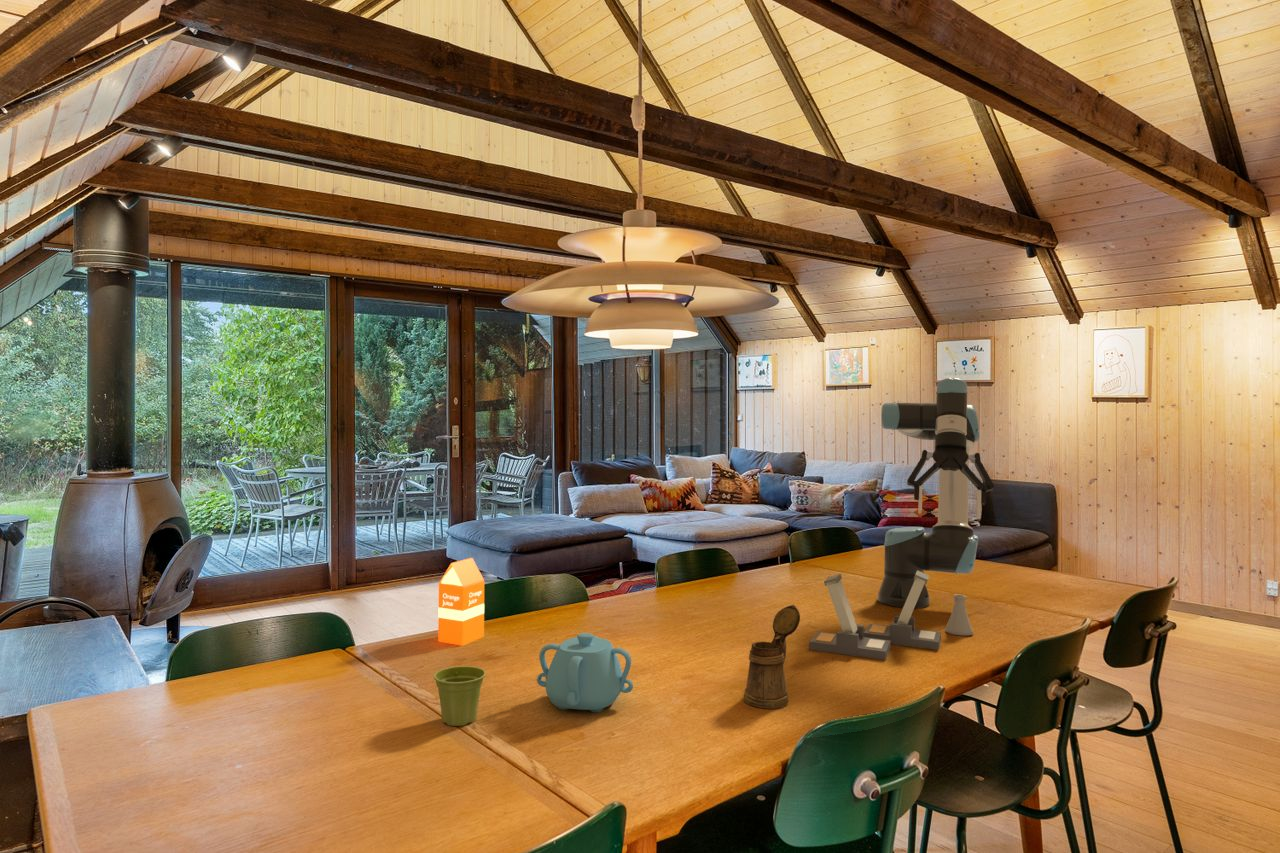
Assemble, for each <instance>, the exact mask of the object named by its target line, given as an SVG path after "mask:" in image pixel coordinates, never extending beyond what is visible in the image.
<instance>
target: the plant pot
mask: <svg viewBox="0 0 1280 853" xmlns="http://www.w3.org/2000/svg"><path fill="white" fill-rule="evenodd" d="M486 673H487V672H486V670H485V669H483V668H480V667H478V666H471V665H470V666H469V665H464V666H463V665H460V666H459V665H458V666H457V665H456V666H451V667H446V668H442V669H440V670H438V671H435V673H434V674H433V680H434V681H435V683H436V687H437V690H438V695H439V702H440V710H441V711H440V712H441V718H442V719H441V720H442V723H445V724H446V725H448V726H451V727H455V726H456V727H457V726H459V727H462V726H466V725H467V724H469V723H475V721H476V719H477V715H478V710H479V709H478V708H479V700H480V696H481V695H480V694H481V688H482V685H483V682H484V681H483V680H484V678H485V677H486V675H487V674H486Z"/></svg>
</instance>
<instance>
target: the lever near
mask: <svg viewBox="0 0 1280 853" xmlns="http://www.w3.org/2000/svg"><path fill="white" fill-rule="evenodd" d="M842 579H843V577H842V574H841V573H838V574H834V575H829V576H828V577H826V578H825V580H824V581H823V583H824V586H825V587H826V588H827V591H828V593H829V596H830V599H831V601H832V605H833V607H834V611H835V614H836V617H837V619H838V622H839V626H840V628H841V632H848V633H856V631H857V625H856V624H857V623H856V619H855V617H854V614H853V611H852V608H851V605H850V602H849V599H848V596H847V594H846V590H845V588H844V584H843V582H842Z"/></svg>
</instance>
